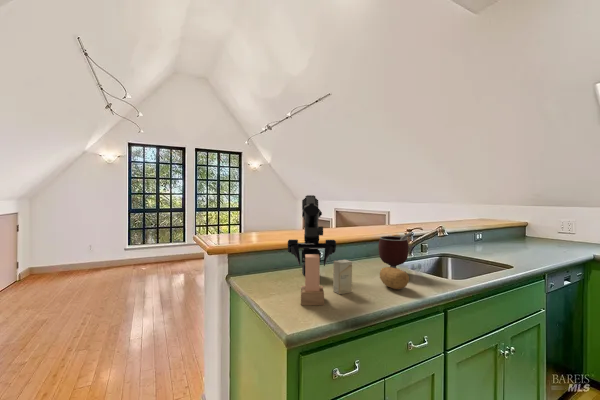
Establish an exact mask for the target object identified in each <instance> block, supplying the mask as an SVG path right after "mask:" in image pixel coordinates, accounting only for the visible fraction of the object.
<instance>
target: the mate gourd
mask: <svg viewBox="0 0 600 400" xmlns="http://www.w3.org/2000/svg"><path fill="white" fill-rule="evenodd" d="M412 235H413V232H409V233H406V234H404V235H403V236H395V235H386V236H385V235H382V236H379V240H378V255H379V258H380V260H381V261H382V262H383V263H384V264H386V265H389V267H392V268H397V266H400V265H403V264H405V262H406V261H407V259H408V258H409V252H410V251H409V249H410V248H409V241H408V237H409V236H412ZM401 270H402V271H404V272H405V273H407V272H406V271H405V270H403V269H401ZM380 271H381V269H380ZM380 271H379V272H380Z"/></svg>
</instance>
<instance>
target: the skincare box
mask: <svg viewBox="0 0 600 400" xmlns="http://www.w3.org/2000/svg"><path fill="white" fill-rule="evenodd" d="M332 274H333V278H332V279H333V285H332V286H333V287H332V289H333V290H332V291H333V292H335V293H336V294H339V295H344V294H349V293H350V294H351V293H353V261H351V260H350V259H349V260H348V259H337V260H333V273H332Z"/></svg>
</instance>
